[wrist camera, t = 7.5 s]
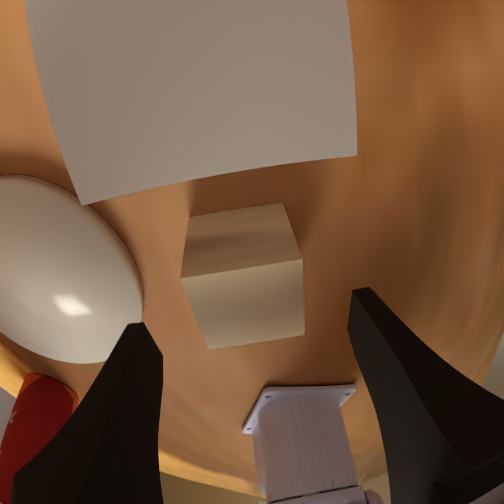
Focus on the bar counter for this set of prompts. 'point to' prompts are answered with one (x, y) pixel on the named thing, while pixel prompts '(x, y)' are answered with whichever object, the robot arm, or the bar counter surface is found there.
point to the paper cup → (33, 425)
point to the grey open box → (192, 87)
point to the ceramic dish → (62, 274)
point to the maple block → (244, 276)
